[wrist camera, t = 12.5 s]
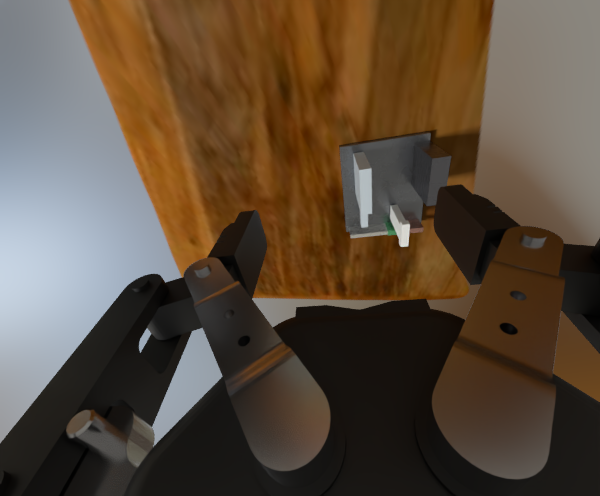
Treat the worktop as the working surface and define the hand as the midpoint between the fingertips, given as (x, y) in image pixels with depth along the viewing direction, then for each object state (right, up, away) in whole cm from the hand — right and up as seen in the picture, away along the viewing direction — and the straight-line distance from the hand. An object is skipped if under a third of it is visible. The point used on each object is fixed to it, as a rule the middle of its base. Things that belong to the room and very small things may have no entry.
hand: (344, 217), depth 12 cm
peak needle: (+13, +4, +29) cm, 32 cm away
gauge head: (+7, +8, +27) cm, 29 cm away
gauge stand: (+11, +8, +28) cm, 31 cm away
